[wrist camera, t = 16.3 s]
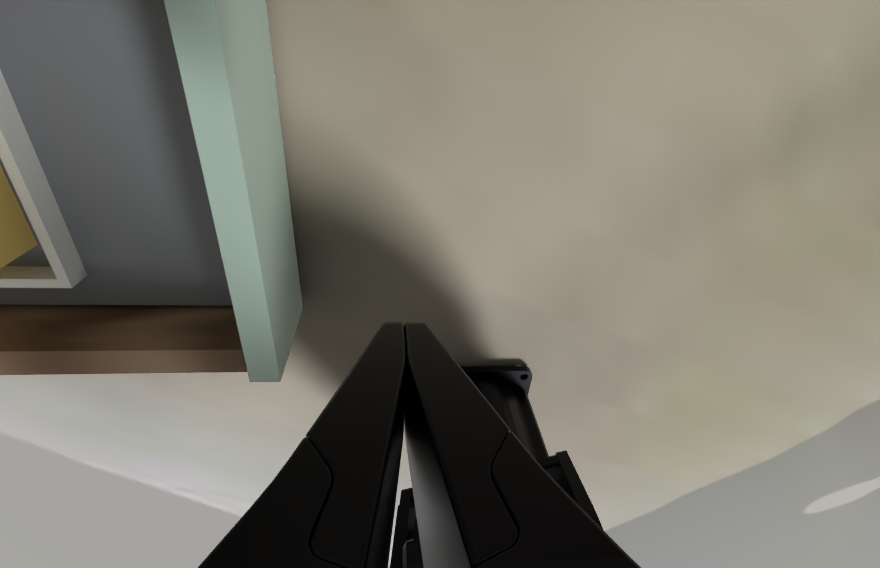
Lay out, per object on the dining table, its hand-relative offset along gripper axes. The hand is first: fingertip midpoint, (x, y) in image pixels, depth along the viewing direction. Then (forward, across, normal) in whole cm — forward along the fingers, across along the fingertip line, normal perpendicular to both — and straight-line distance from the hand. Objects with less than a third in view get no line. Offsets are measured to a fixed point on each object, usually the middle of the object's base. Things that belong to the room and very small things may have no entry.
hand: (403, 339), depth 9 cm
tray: (+12, +12, 0) cm, 17 cm away
